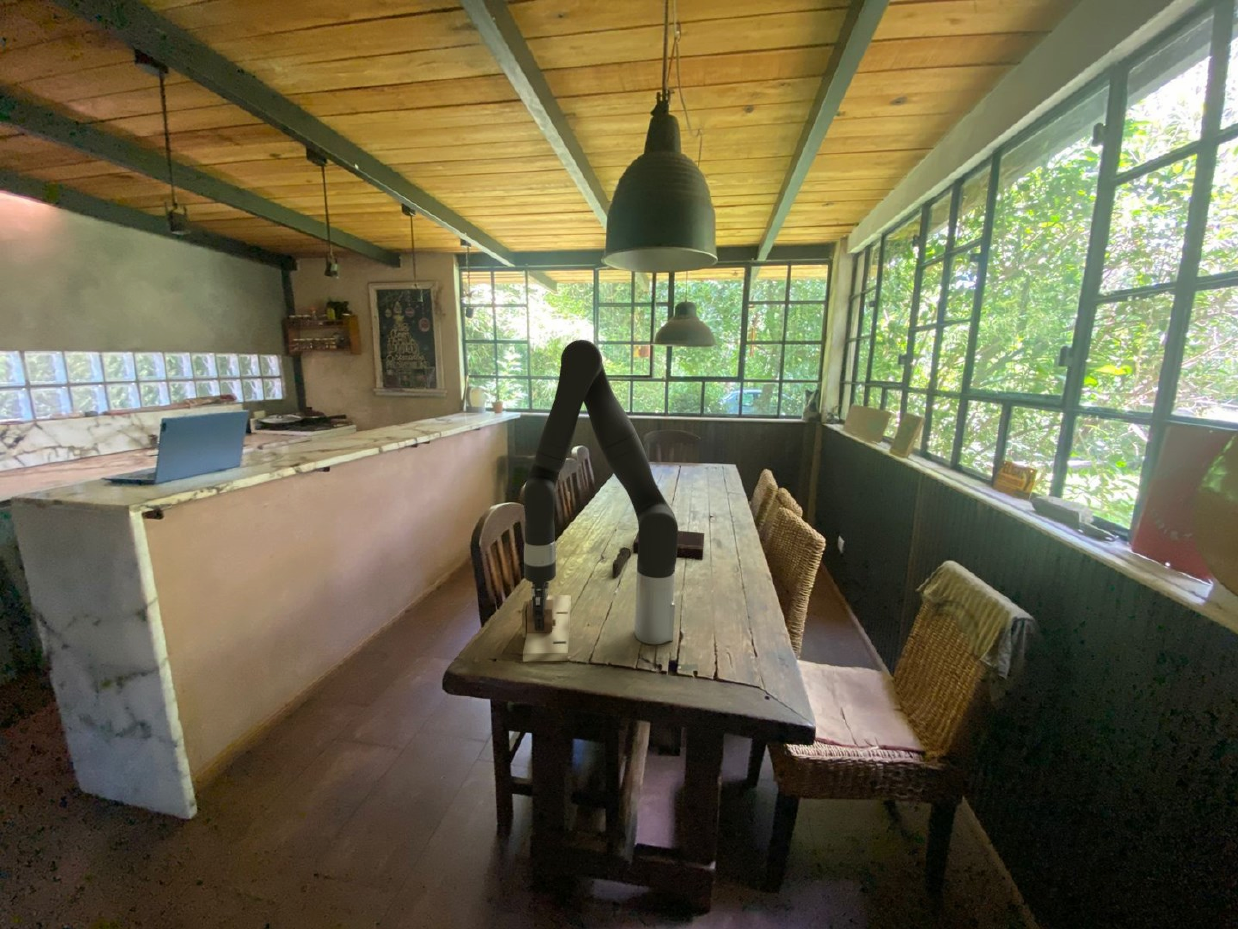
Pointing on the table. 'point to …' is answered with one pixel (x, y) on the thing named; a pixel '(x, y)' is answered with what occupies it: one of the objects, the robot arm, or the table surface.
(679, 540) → the diary
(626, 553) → the hand tool
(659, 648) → the table surface
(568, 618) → the board
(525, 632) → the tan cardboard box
